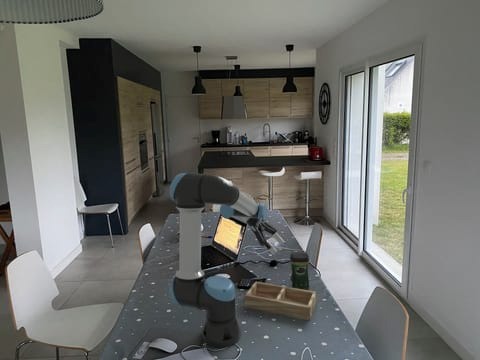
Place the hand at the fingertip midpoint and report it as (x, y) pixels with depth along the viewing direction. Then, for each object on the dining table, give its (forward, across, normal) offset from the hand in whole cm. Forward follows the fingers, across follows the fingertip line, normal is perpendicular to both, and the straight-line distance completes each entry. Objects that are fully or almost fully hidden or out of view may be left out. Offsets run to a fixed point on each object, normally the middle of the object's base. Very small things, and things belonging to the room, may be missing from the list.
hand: (279, 248), depth 181 cm
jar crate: (+18, +20, -9) cm, 29 cm away
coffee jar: (+22, 0, -6) cm, 22 cm away
